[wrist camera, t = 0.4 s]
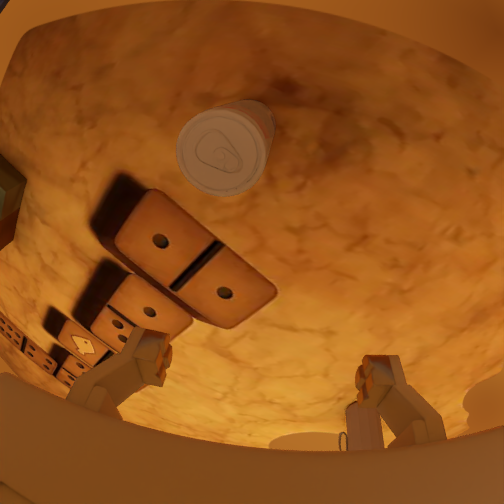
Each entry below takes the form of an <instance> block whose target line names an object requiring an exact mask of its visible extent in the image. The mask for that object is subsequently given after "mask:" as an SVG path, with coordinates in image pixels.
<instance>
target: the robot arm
mask: <svg viewBox="0 0 504 504" xmlns="http://www.w3.org/2000/svg"><path fill="white" fill-rule="evenodd" d="M170 340H171V339H170V334H168V333H163V332H159V331H154V330H150V329H145V328H140V327H135V328H134V329H133V330H132V332H131V334H130V336H129V338H128V340H127V342H126V344H125V346H124V347H123V349H122V351H121V353H120V354H118V353H117V354H115V355H114V356H112V357H110V358H109V359H107V360H105V361H104V362H102V363H101V364H99V365H97V366H96V367H94V368H92V369H91V370H89V371H87V372H86V373H84V374H82V375H81V376H79V377H77V379H76V381H75V382H74V384H73V386H72V388H71V390H70V392H69V394H68V396H67V397H66V399H63V398H60V397H58V396H56V395H53V394H51V393H49V392H47V391H45V390H42V389H40V388H38V387H36V386H34V385H32V384H30V383H28V382H26V381H24V380H22V379H20V378H18V377H16V376H15V375H13V374H11V373H7V372H4V373H1V374H0V504H504V426H498V427H495V428H491V429H488V430H484V431H480V432H477V433H473V434H469V435H465V436H460V437H456V438H451V439H447V437H446V433H445V429H444V425H443V421H442V417H441V416H440V415H439V414H438V413H437V412H436V411H435V410H434V409H433V408H432V406H431V405H430V404H429V403H428V402H427V401H426V400H425V399H424V398H423V397H422V396H421V395H419V394H418V393H417V392H416V391H415V390H414V389H413V388H412V387H411V386H410V385H407V383H406V380H405V376H404V372H403V369H402V365H401V362H400V358H399V356H398V355H365V356H364V357H363V359H362V365H360V366H359V367H358V369H357V371H356V375H355V386H356V388H357V389H358V390H359V393H358V394H357V401H358V408H376V410H377V411H378V413H379V414H380V415H381V417H382V418H383V419H384V421H385V422H386V424H387V425H388V426H389V428H390V429H391V430H392V432H393V433H394V435H395V436H396V437H397V438H396V439H395V440H393V441H392V442H391V443H390V444H389V445H388V448H384V449H371V450H354V451H297V450H296V451H295V450H279V449H266V448H256V447H247V446H238V445H231V444H224V443H217V442H211V441H206V440H200V439H195V438H190V437H185V436H180V435H176V434H171V433H167V432H163V431H159V430H155V429H151V428H147V427H143V426H140V425H136V424H133V423H130V422H126V421H123V418H122V416H121V414H120V413H119V411H118V409H117V408H116V407H117V406H118V405H120V404H121V403H122V402H123V401H124V400H126V399H127V398H128V397H129V396H131V395H132V394H133V393H134V392H135V391H137V390H138V389H139V388H140V387H141V386H143V385H144V383H145V384H149V385H154V386H159V387H162V386H163V384H164V381H165V378H166V369H167V368H169V367H170V364H171V361H172V346H171V345H170V344H169V342H170Z"/></svg>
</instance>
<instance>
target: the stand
mask: <svg viewBox="0 0 504 504" xmlns="http://www.w3.org/2000/svg"><path fill="white" fill-rule="evenodd" d="M26 181H27V179H26V178H24V177H23V176H22V175H21V174H20V173H19V172H18V171H17V170H16V169H15V168H14V167H13V166H12V165H11V164H10V163H9V162H8V161H7V160H6V159H5V158H4V157H3V156H2V155H1V154H0V250H2V249H3V248H4V247H5V246H6V245H8V244H9V243H10V242H11V241H12V240H13V239H14V233H15V228H16V223H17V218H18V213H19V209H20V204H21V200H22V196H23V192H24V188H25V184H26Z"/></svg>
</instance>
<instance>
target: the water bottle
mask: <svg viewBox="0 0 504 504" xmlns="http://www.w3.org/2000/svg"><path fill="white" fill-rule="evenodd" d="M346 423H347V435H346V433H345V432H341V433H340V434H339V449H340V451H341V445H340V443H341V442H340V441H341V435H342V434H345V435H346V451H354V450H371V449H384V441H383V433H382V426H381V419H380V414H379V413H378V411H377V410H376V408H358V402H355V403H353V404H351V405H350V406H349V407H348V408H347V409H346ZM347 436H348V437H347Z"/></svg>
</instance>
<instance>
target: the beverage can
mask: <svg viewBox="0 0 504 504" xmlns="http://www.w3.org/2000/svg"><path fill="white" fill-rule="evenodd" d="M275 129H276V123H275V118H274V115H273V113H272V112H271V110H270V109H269V108H268V107H267V106H266V105H264V104H263V103H261V102H259V101H256V100H251V99H246V100H240V101H237V102H233V103H229V104H225V105H221V106H218V107H214V108H211V109H208V110H205V111H203V112H201V113H200V114H198V115H196V116H194V117H193V118H192V119H190V120H189V121H188V122H187V123H186V124H185V126H184V127H183V128H182V130H181V132H180V134H179V137H178V140H177V144H176V157H177V161H178V164H179V167H180V169H181V171H182V173H183V174H184V176H185V177H186V179H187V180H188V181H189V182H190V183H191V184H192V185H194V186H195V187H196V188H197V189H199V190H201V191H203V192H205V193H207V194H210V195H214V196H222V197H226V196H234V195H238V194H240V193H243V192H245V191H247V190H248V189H250V188H251V187H252V186H253V185H254V184H255V183H256V182H257V181H258V180H259V178H260V177H261V175H262V173H263V171H264V168H265V166H266V163H267V159H268V155H269V152H270V148H271V144H272V141H273V137H274V133H275Z"/></svg>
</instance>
